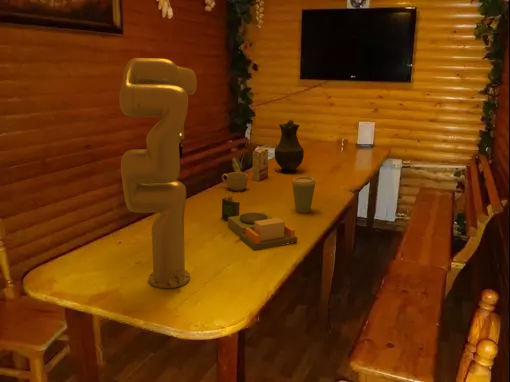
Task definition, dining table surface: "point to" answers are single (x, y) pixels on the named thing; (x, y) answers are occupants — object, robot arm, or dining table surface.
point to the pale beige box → (269, 228)
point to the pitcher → (289, 148)
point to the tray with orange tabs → (246, 232)
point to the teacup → (236, 180)
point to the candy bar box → (260, 164)
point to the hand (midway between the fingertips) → (173, 155)
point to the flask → (229, 207)
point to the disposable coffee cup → (303, 193)
